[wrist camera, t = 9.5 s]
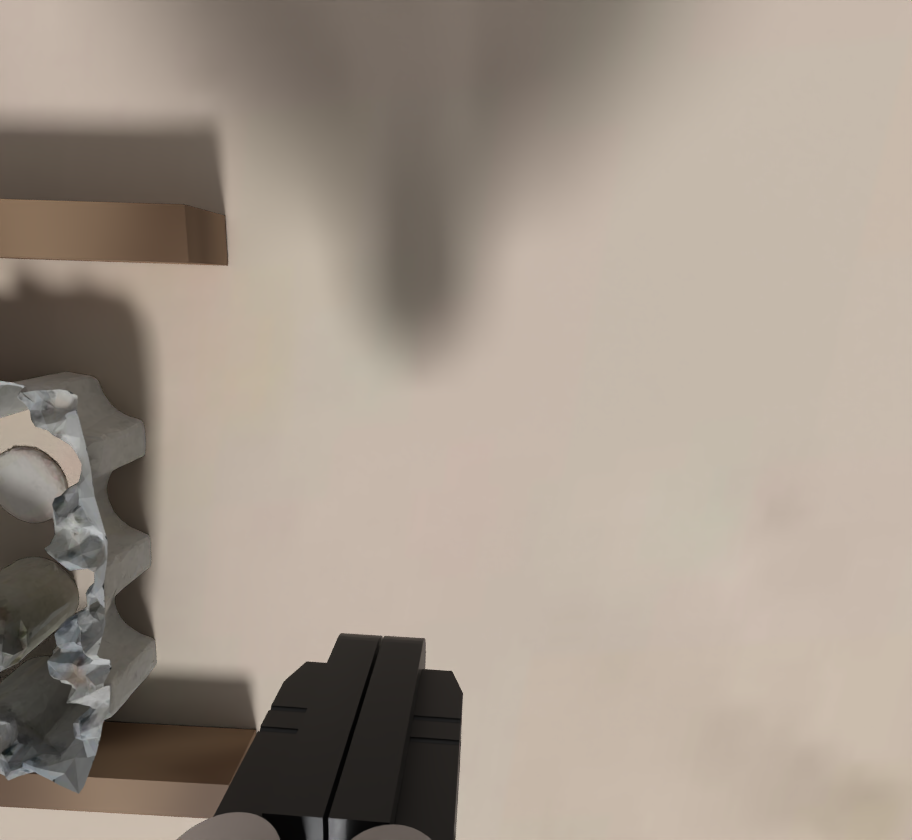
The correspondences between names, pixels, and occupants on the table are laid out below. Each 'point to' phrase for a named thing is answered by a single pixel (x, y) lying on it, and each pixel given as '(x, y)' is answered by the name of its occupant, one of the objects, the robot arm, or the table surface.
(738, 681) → the table surface
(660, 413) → the table surface
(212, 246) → the display stand
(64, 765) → the egg carton
